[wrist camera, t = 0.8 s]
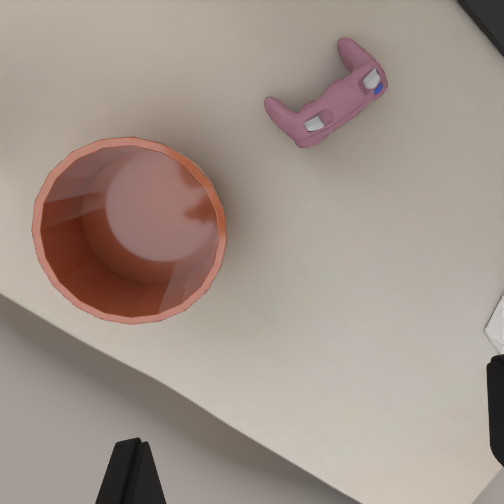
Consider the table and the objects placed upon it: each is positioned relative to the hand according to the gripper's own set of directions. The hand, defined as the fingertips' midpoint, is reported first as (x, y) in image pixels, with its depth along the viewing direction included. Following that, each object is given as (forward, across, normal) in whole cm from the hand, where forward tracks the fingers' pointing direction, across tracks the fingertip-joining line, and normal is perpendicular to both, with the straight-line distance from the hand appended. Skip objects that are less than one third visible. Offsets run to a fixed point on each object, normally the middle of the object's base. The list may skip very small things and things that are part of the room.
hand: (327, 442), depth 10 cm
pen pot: (+29, +8, -4) cm, 31 cm away
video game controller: (+30, -10, -12) cm, 33 cm away
